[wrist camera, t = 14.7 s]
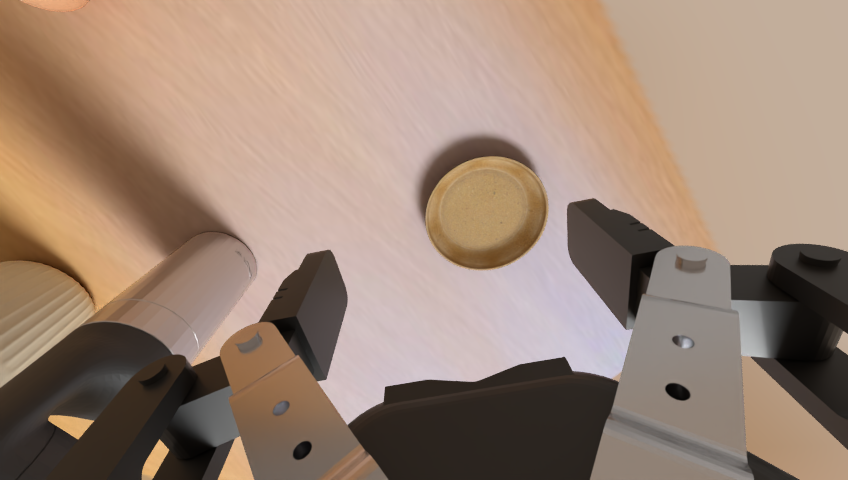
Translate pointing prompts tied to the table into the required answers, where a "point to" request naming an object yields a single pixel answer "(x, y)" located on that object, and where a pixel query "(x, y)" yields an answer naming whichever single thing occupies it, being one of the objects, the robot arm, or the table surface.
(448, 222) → the plant saucer
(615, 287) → the robot arm
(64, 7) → the egg
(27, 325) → the canister
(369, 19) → the table surface
